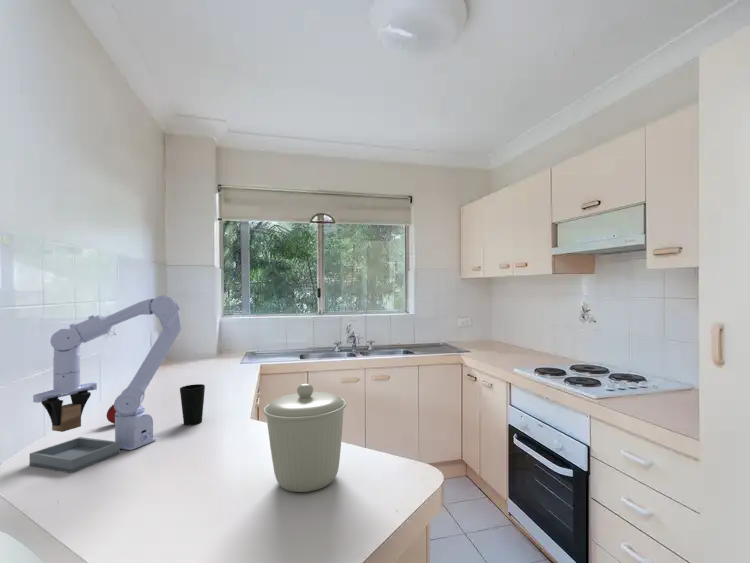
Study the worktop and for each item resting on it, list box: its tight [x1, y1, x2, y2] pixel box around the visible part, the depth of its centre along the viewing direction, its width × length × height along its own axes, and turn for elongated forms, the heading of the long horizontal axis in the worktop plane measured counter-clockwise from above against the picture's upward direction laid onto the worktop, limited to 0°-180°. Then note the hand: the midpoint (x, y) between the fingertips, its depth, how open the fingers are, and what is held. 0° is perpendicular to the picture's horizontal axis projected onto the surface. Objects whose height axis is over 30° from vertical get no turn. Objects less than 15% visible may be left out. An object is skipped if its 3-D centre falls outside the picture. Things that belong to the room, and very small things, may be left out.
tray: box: [29, 436, 121, 474], centre depth 99 cm, size 16×12×3 cm
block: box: [51, 403, 82, 433], centre depth 103 cm, size 4×4×6 cm
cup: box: [179, 383, 206, 426], centre depth 127 cm, size 8×8×12 cm
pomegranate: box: [106, 403, 116, 425], centre depth 128 cm, size 6×6×8 cm
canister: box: [262, 383, 347, 493], centre depth 83 cm, size 18×18×21 cm
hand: (66, 422), depth 103 cm, fingers closed on block, 4 cm apart
